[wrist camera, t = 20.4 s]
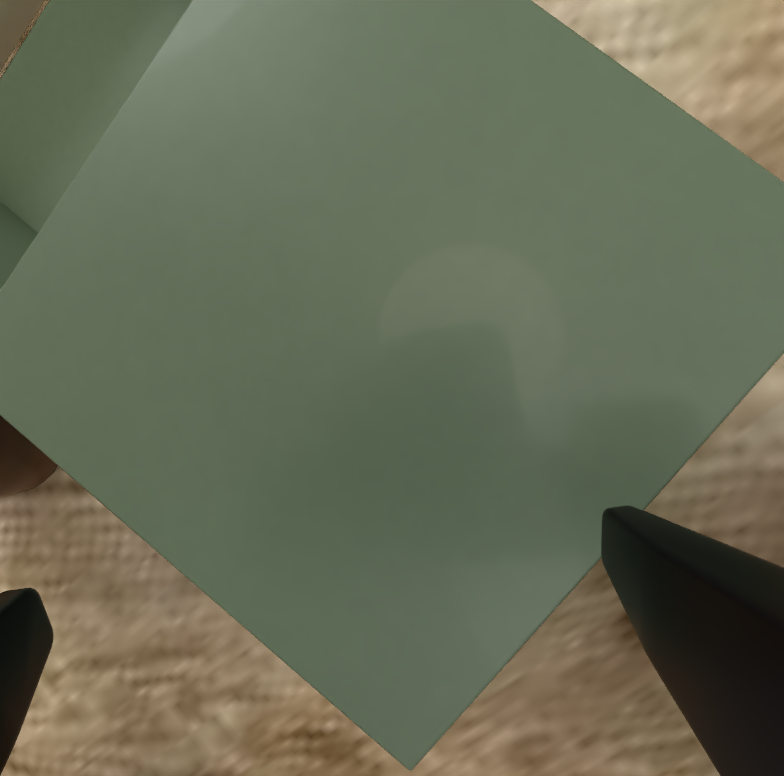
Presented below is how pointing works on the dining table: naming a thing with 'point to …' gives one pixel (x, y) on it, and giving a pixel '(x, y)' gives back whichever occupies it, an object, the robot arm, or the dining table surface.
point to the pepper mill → (20, 462)
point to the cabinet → (390, 327)
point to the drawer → (64, 97)
